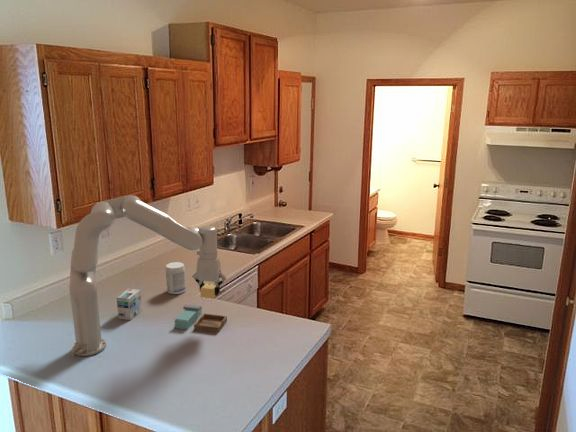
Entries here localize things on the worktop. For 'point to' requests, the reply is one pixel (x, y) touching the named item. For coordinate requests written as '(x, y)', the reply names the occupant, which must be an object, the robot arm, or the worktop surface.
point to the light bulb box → (129, 304)
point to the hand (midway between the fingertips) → (209, 293)
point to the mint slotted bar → (188, 316)
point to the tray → (210, 323)
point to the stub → (208, 291)
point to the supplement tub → (175, 278)
